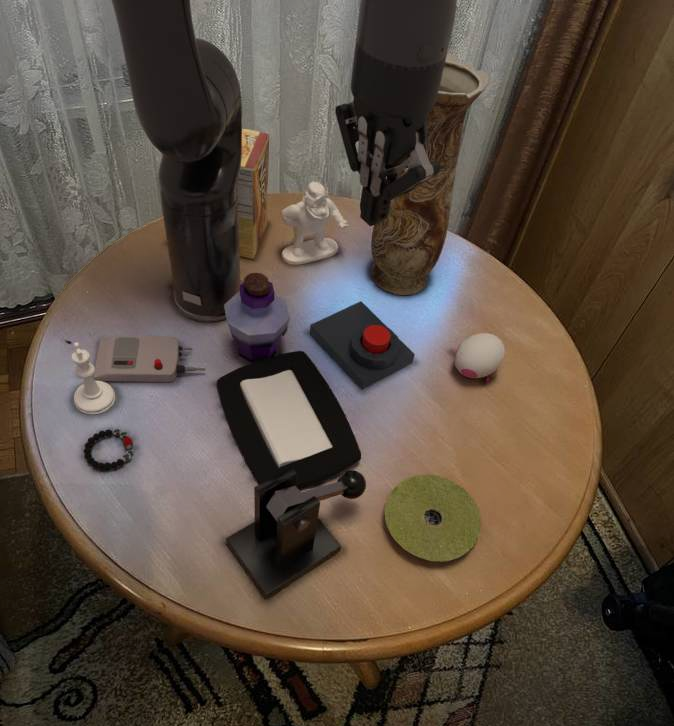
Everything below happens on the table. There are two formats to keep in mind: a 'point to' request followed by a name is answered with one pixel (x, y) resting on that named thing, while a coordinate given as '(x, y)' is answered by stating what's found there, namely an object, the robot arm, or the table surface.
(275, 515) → the switch lever
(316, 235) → the figurine
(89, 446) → the bracelet
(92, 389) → the chess piece
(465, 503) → the mat
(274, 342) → the potion bottle
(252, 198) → the candy box
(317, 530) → the switch bracket
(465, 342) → the stress ball
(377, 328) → the red button
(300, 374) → the light switch
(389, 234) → the vase
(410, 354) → the control box
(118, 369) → the grey electronic device
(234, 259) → the robot arm
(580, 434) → the table surface
